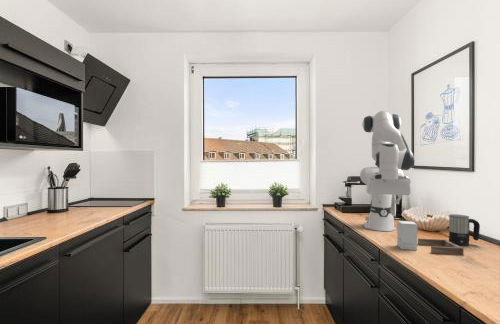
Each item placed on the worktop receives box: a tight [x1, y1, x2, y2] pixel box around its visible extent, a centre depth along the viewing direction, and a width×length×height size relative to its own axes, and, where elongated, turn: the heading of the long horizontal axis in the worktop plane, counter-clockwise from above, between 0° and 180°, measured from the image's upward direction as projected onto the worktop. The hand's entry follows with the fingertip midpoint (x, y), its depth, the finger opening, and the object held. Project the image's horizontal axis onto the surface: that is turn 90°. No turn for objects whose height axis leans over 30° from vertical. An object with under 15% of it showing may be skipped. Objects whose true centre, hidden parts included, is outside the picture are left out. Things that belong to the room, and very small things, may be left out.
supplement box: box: [396, 220, 418, 251], centre depth 154 cm, size 7×7×13 cm
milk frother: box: [448, 213, 481, 247], centre depth 168 cm, size 14×16×15 cm
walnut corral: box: [417, 237, 465, 256], centre depth 153 cm, size 16×14×3 cm
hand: (387, 203), depth 155 cm, fingers open, 7 cm apart
